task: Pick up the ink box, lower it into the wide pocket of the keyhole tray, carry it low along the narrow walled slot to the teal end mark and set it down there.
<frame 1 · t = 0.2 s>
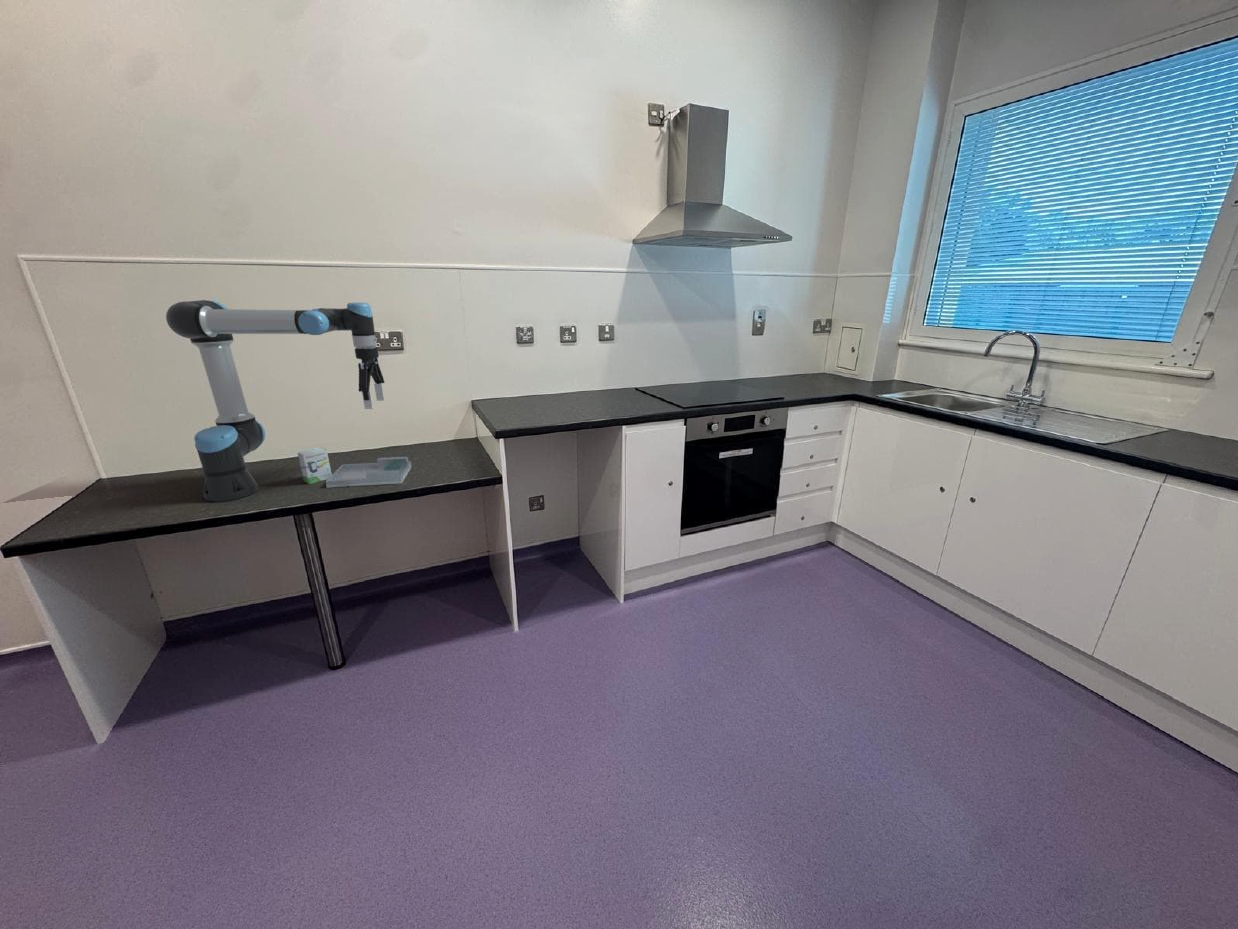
hand: (375, 404, 186), 28 cm above the countertop, fingers open, 13 cm apart
keyhole tray: (371, 476, 191), on the countertop
ink box: (318, 480, 188), on the countertop
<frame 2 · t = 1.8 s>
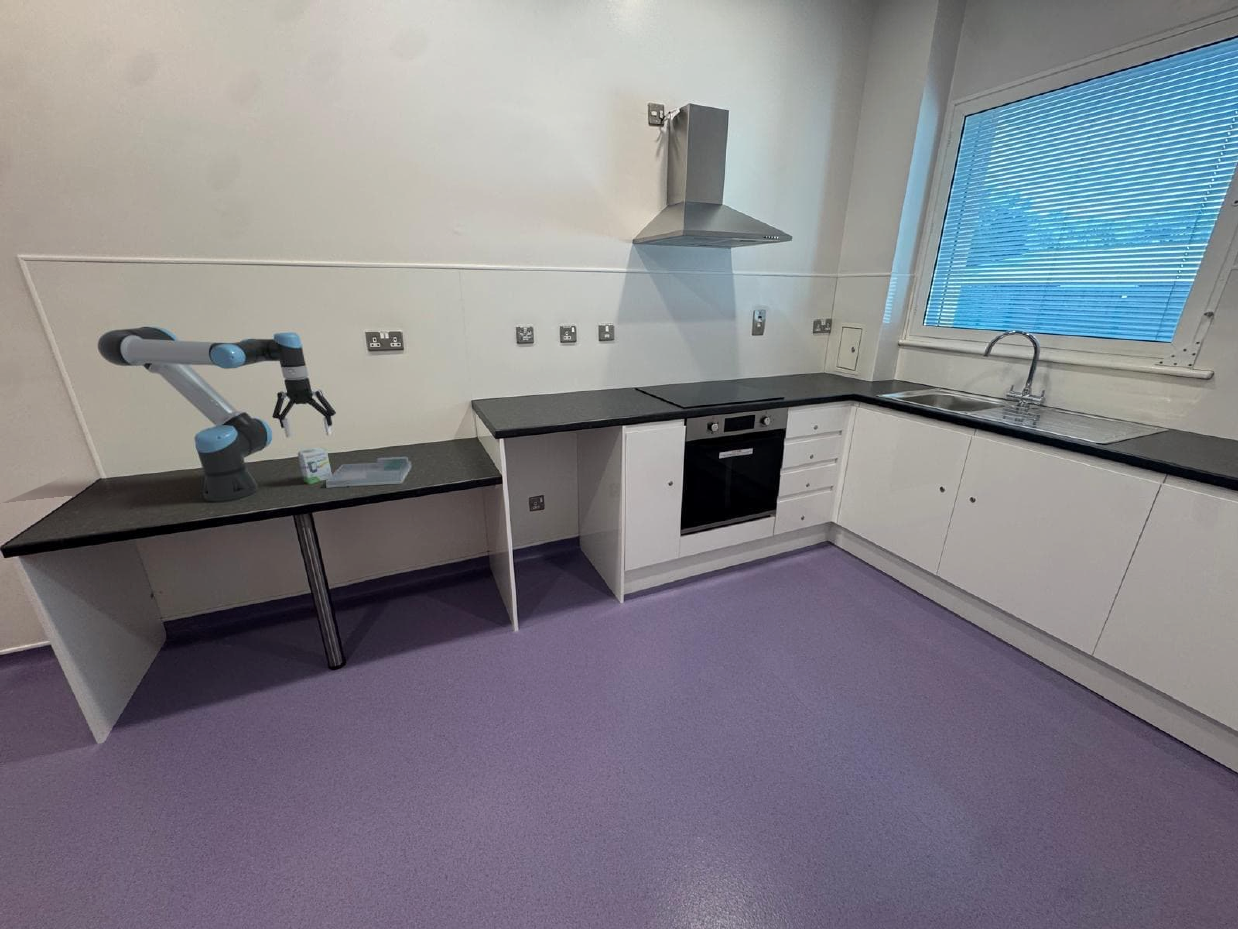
hand: (309, 435, 182), 18 cm above the countertop, fingers open, 13 cm apart
nothing on the countertop moved.
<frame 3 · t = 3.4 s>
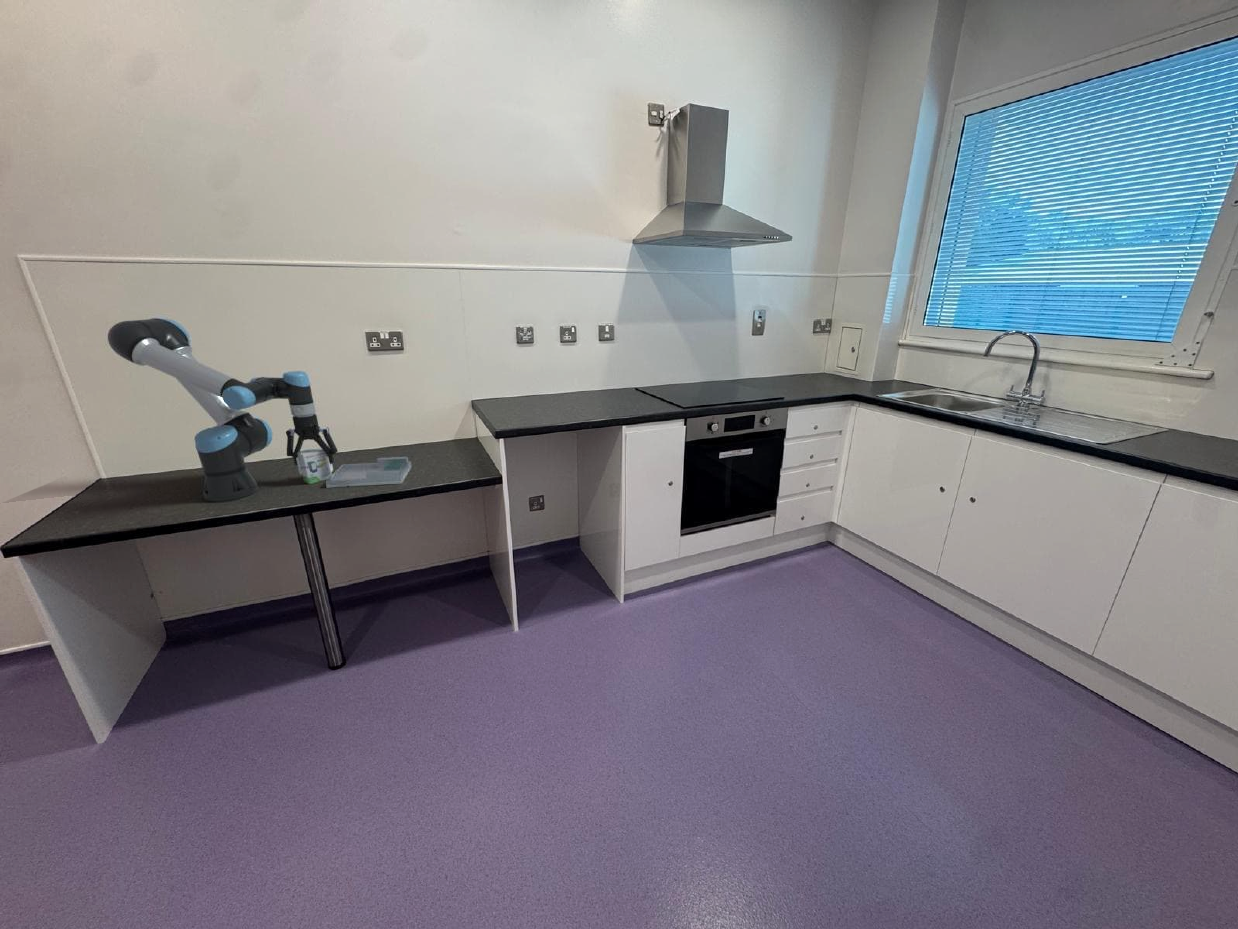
hand: (316, 472, 187), 3 cm above the countertop, fingers closed on ink box, 9 cm apart
ink box: (318, 480, 188), on the countertop, touching gripper
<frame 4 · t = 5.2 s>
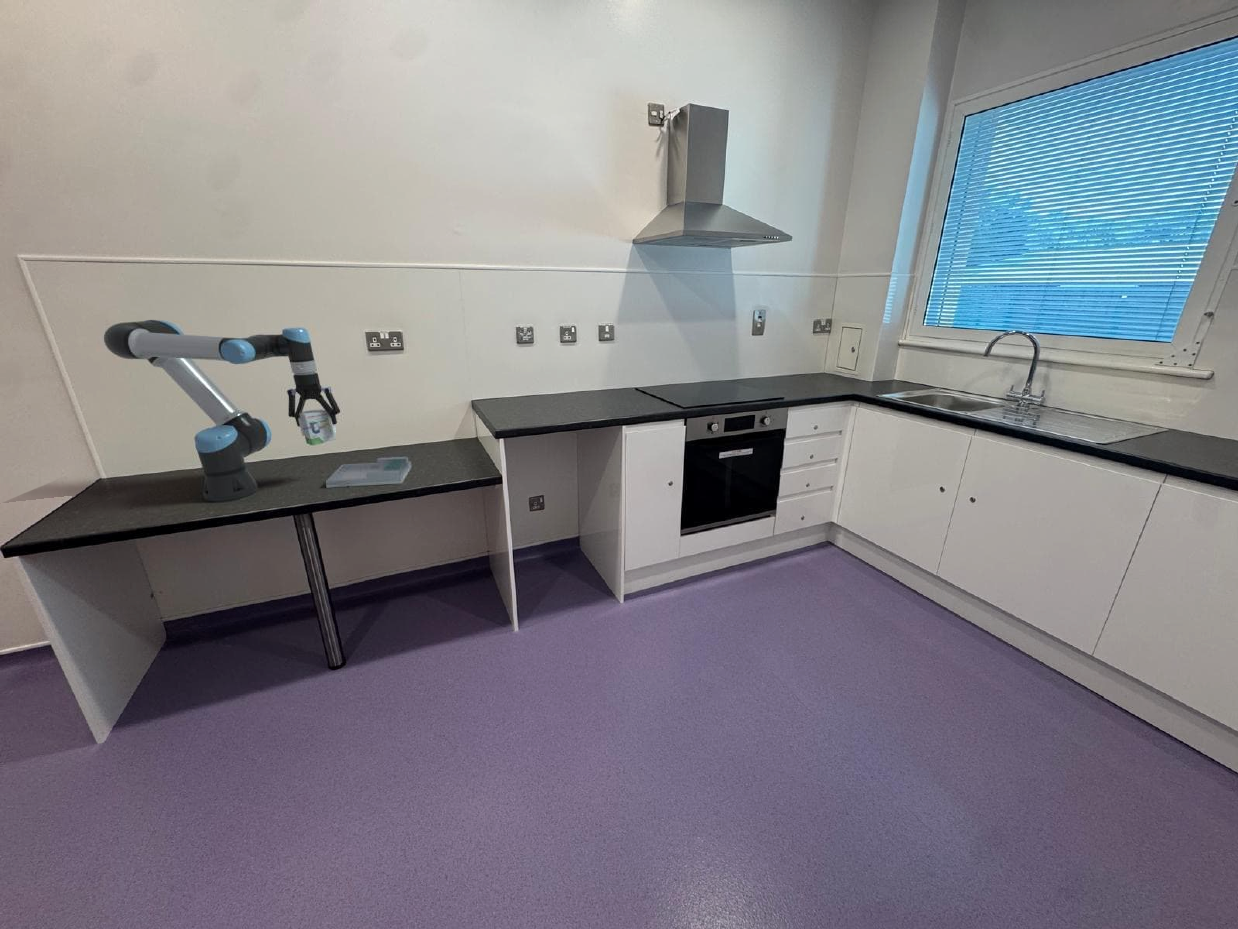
hand: (319, 433, 182), 18 cm above the countertop, fingers closed on ink box, 9 cm apart
ink box: (321, 442, 183), point 15 cm above the countertop, touching gripper
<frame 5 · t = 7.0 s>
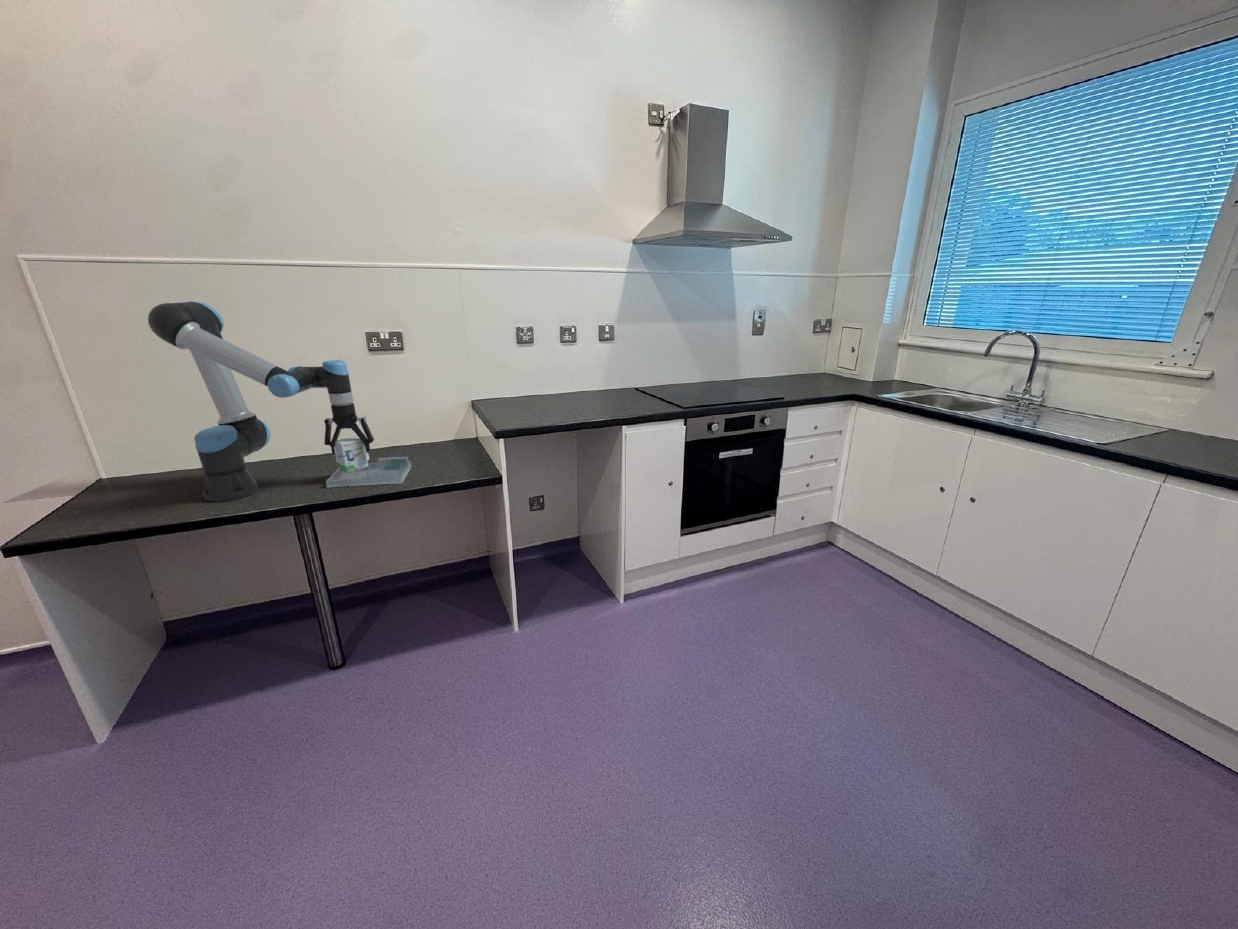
hand: (353, 461, 188), 7 cm above the countertop, fingers closed on ink box, 9 cm apart
ink box: (354, 469, 189), point 3 cm above the countertop, touching gripper
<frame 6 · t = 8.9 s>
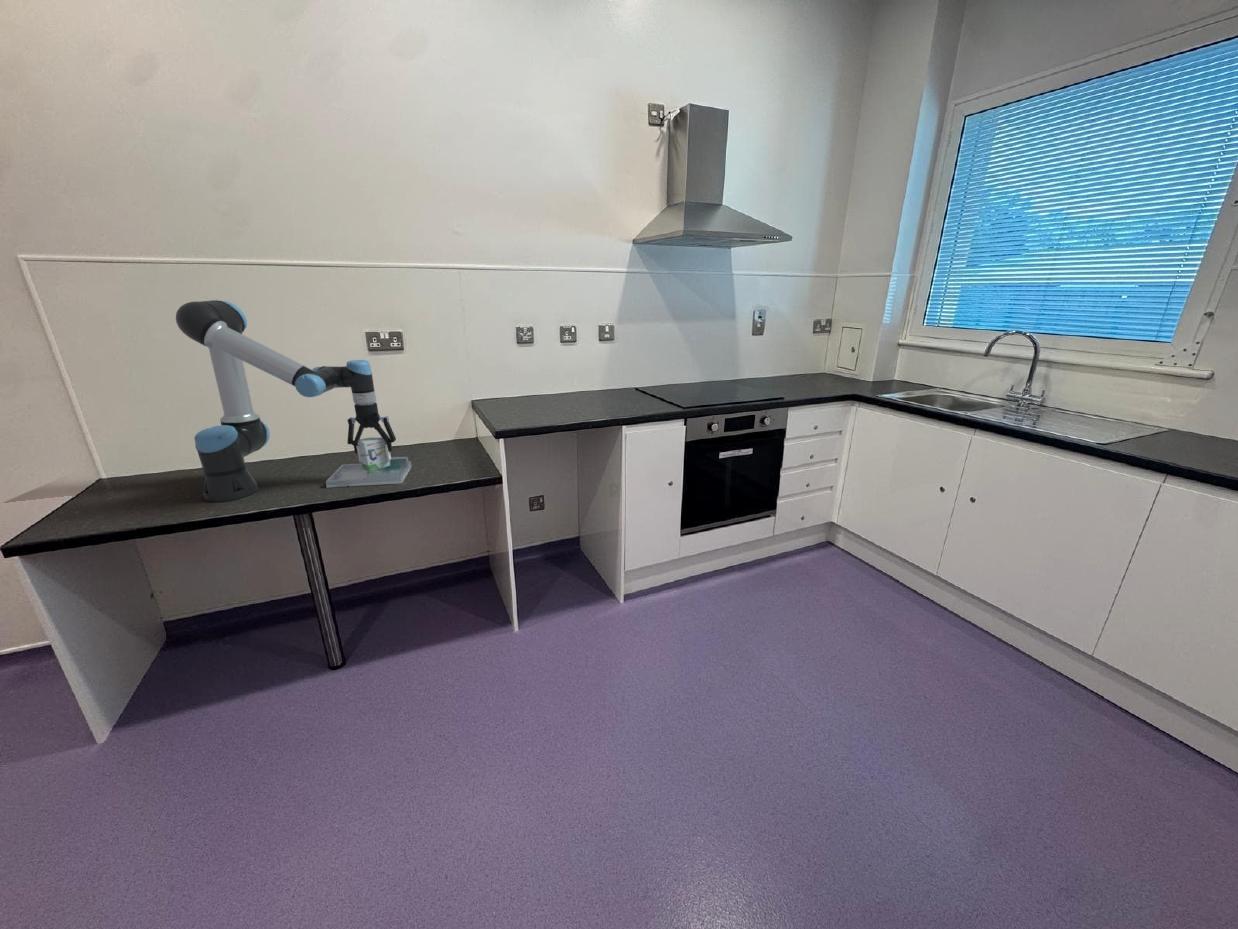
hand: (375, 460, 189), 7 cm above the countertop, fingers closed on ink box, 9 cm apart
ink box: (376, 468, 190), point 3 cm above the countertop, touching gripper
when the fingers open (5 cm above the countertop, at t = 10.7 s): ink box stays where it is, resting on keyhole tray.
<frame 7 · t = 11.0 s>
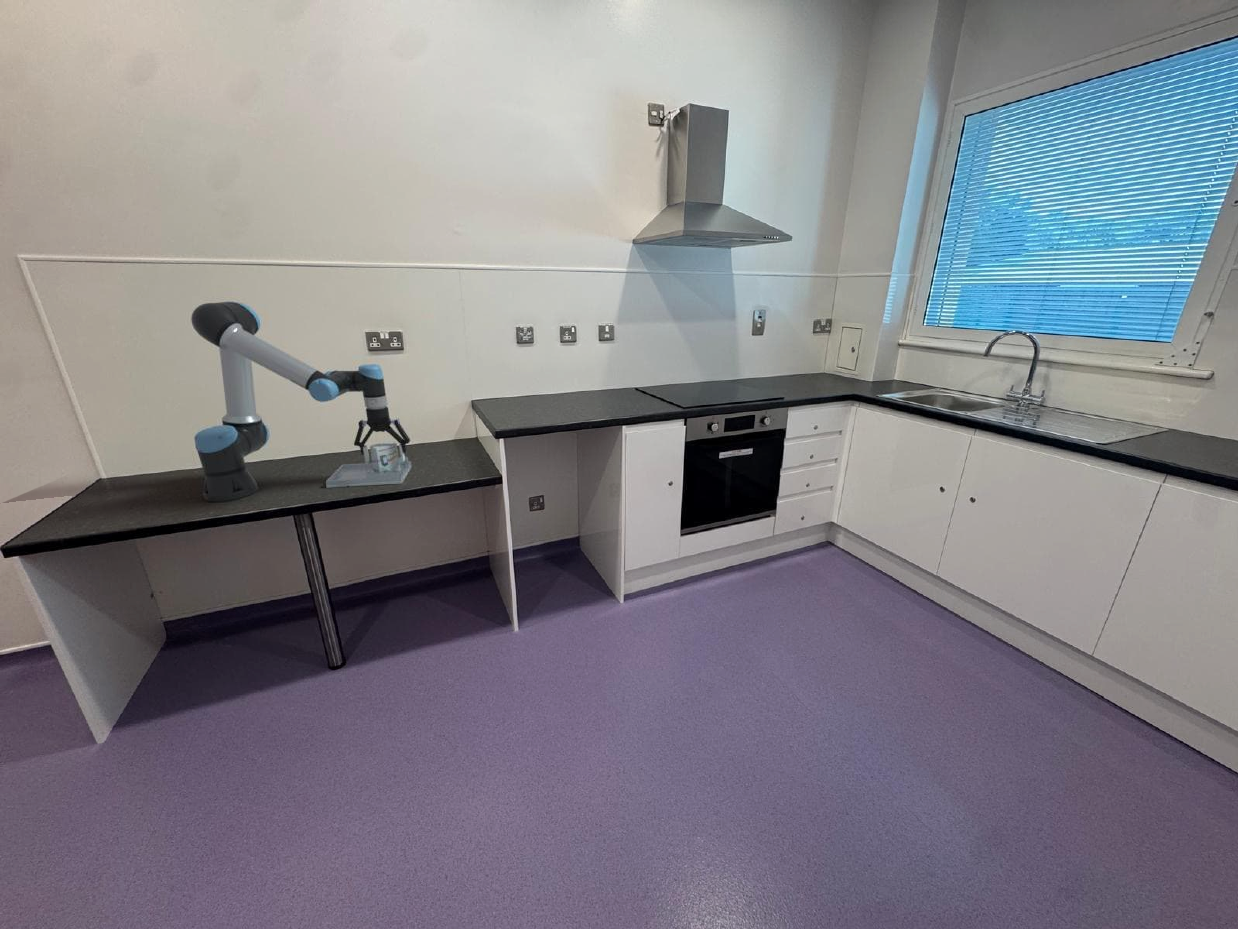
hand: (385, 461, 190), 6 cm above the countertop, fingers open, 12 cm apart
ink box: (387, 473, 192), point 1 cm above the countertop, touching keyhole tray
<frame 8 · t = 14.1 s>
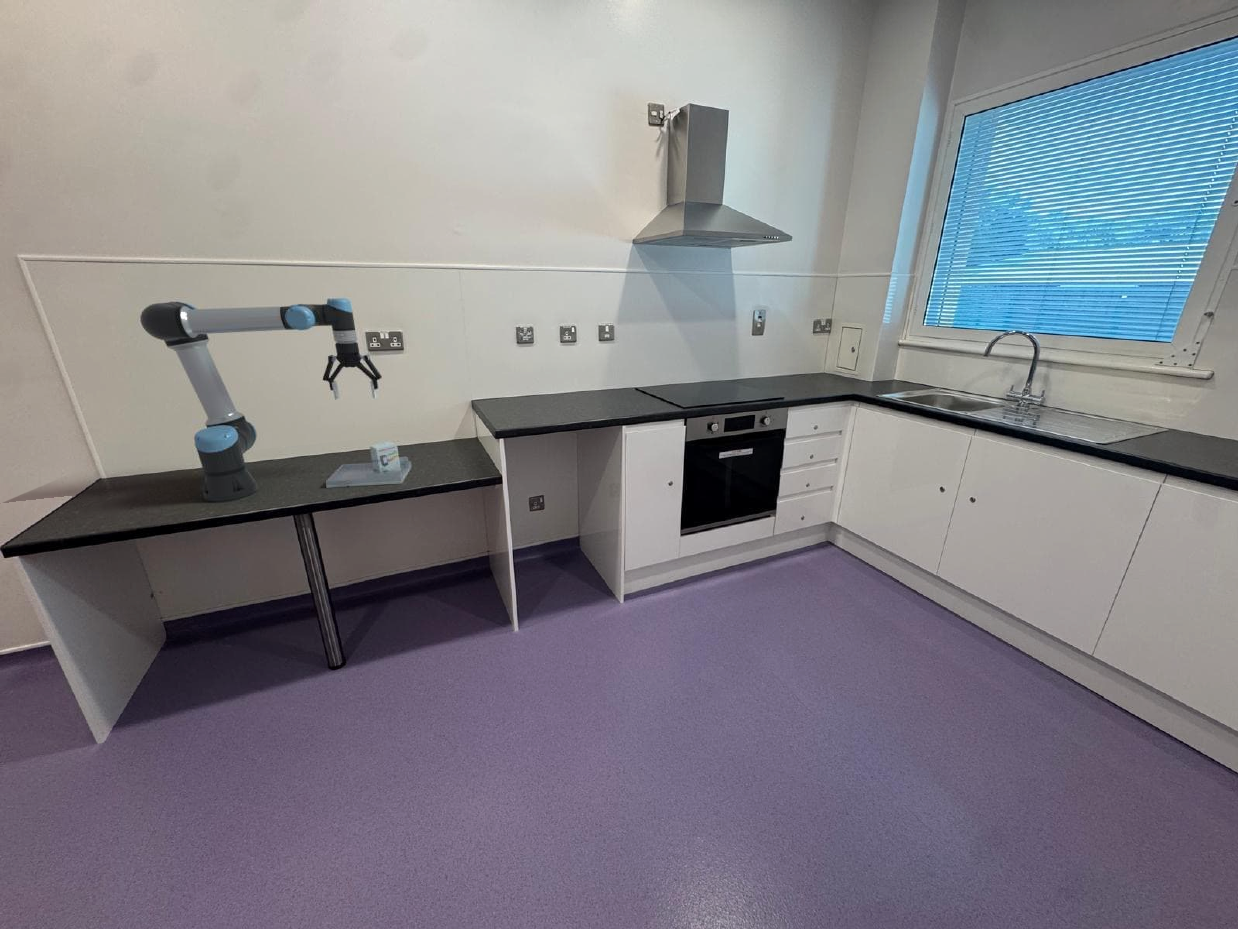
hand: (356, 398, 191), 29 cm above the countertop, fingers open, 13 cm apart
nothing on the countertop moved.
at the end: ink box inside the target area (0.4 cm from its centre), point 0.9 cm above the countertop; ink box tilted 0°; the gripper is holding nothing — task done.
